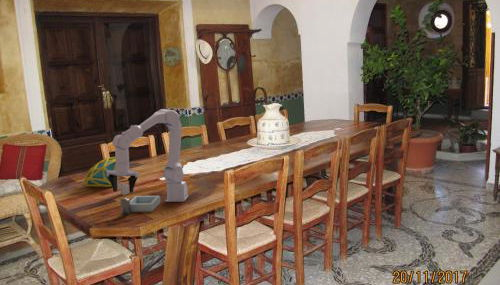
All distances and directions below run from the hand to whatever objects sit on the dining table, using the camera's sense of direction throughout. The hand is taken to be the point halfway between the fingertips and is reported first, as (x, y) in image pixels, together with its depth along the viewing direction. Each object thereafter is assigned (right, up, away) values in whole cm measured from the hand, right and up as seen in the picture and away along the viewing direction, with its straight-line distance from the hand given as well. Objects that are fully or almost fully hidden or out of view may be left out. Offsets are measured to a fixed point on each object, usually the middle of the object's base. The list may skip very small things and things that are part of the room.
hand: (123, 191), depth 208 cm
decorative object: (-22, -2, +47) cm, 52 cm away
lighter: (-8, -5, +30) cm, 32 cm away
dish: (+7, -8, +9) cm, 14 cm away
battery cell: (+1, -10, +1) cm, 10 cm away
